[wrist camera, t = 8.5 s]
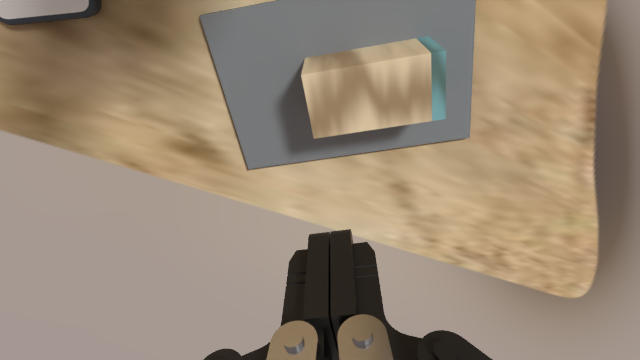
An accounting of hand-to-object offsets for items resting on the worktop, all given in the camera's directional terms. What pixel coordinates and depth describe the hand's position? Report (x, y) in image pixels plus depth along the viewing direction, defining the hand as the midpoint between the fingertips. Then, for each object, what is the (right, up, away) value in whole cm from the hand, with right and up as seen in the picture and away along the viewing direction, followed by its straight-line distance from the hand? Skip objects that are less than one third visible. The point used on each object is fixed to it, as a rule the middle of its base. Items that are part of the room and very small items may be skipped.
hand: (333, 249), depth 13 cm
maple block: (-1, +9, +16) cm, 18 cm away
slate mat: (+2, +11, +18) cm, 21 cm away
